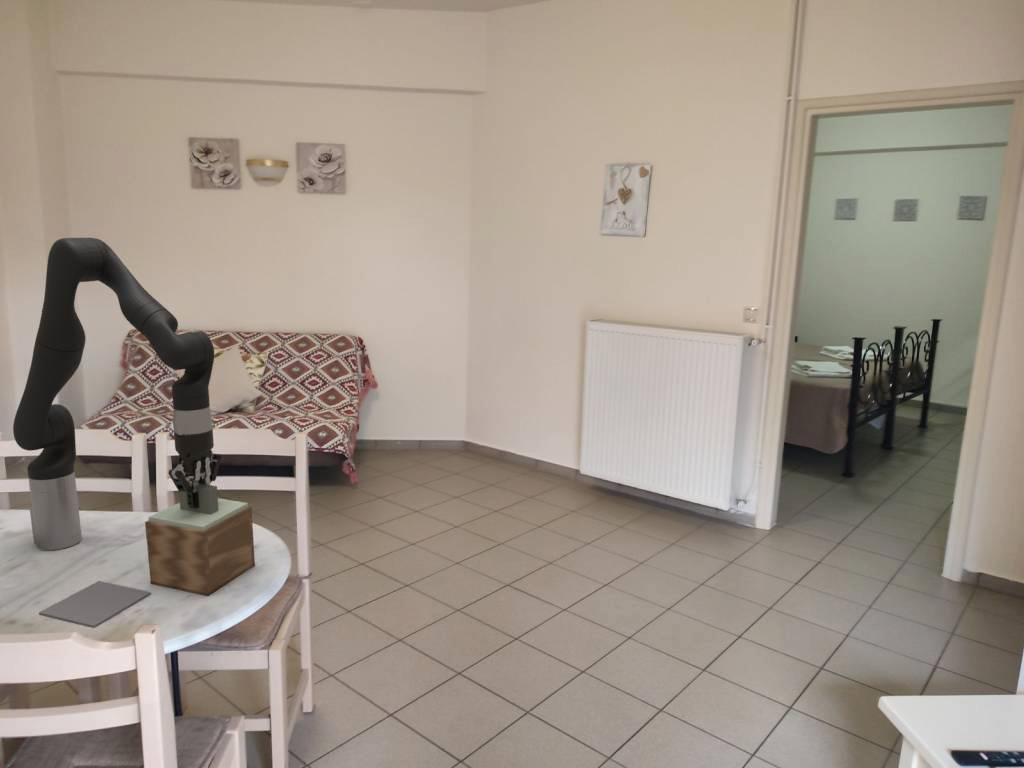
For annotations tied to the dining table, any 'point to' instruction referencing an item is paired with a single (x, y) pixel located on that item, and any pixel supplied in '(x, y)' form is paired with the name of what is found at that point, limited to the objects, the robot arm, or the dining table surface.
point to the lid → (199, 510)
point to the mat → (95, 604)
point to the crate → (200, 554)
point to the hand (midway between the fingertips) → (198, 505)
